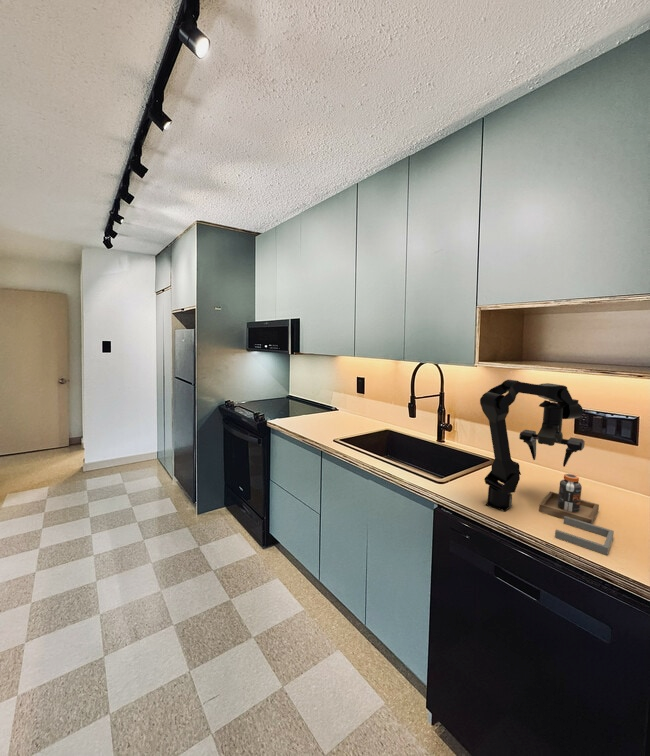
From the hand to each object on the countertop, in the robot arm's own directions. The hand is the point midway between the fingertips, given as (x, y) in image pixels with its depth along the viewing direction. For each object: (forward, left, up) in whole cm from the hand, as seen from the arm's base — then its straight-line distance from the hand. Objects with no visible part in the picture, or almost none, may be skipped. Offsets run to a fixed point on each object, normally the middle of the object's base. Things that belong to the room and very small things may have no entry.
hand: (548, 463), depth 127 cm
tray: (+8, -6, -13) cm, 16 cm away
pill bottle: (+8, -6, -12) cm, 16 cm away
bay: (+14, -21, -13) cm, 28 cm away
